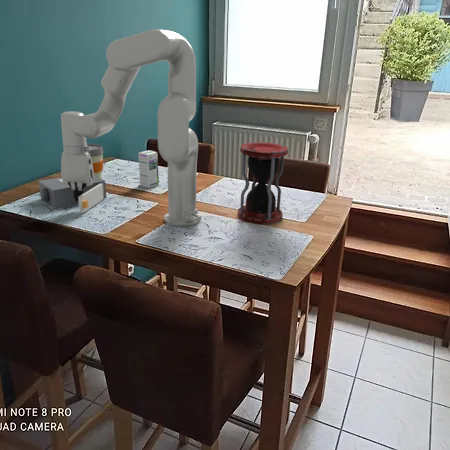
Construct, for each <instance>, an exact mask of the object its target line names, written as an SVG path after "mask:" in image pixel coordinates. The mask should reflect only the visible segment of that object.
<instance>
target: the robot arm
mask: <svg viewBox="0 0 450 450" xmlns="http://www.w3.org/2000/svg"><path fill="white" fill-rule="evenodd" d="M105 55H106V60H107V63H108V67H107V69H106V70H105V72H104V75H103V77H102V78H101V80H100V84H101V86H102V89H103V90H104V96H103V99H102V101H101V104H100V106H99V107H98V110H97V111H96V112H92V113H88V114H84V113H83V112H81V111H73V110H72V111H64V112H62V113H61V115H60V123H61V134H62V135H61V136H62V146H63V148H62V149H63V152H62V153H61V159H60V160H61V162H60V173H61V174H60V175H61V177H62V179H63V181H62V182H63V183H65V184H68V185H69V186H70V187H71V188H72V190H73V191H74V198H75V201H79V200H78V197H79V196H80V195H82V194H84V191H83V189H84V188H85V187H86V186H91V185H93V181H92V179H93V178H94V172H93V165H92V160H91V156H90V153H87V152H88V151H90V150H91V148H90V147H87V144H88V143H87V139H96V138H98V137H101V136H103V135H105V134H108V133H109V132H111V131H112V130H113V128H114V127H115V126H116V123H117V122H118V120H119V118H120V116H121V115H122V113H123V110H124V106H125V104H126V97H127V94H128V92H129V91H130V88H131V87H132V85H133V83H134V81H135V79H136V77H137V75H138V73H139V72H140V70H141V67H143V66H147V65H151V64H154V63H158V62H167V63H168V66H169V67H168V75H167V76H168V77H167V84H168V88H167V90H168V92H167V95H166V96H165V97H163V98H162V100H160V103H159V104H158V110H157V149H158V152H159V154H160V156H161V158H162V159H163V160H164V161H165V162H167V202H168V203H167V204H168V206H167V207H168V212H167V213H166V214H164V216H163V219H164V222H165V223H166V224H169V225H171V226H176V227H177V226H178V227H187V226H194V225H197V224H198V223H199V222H201V220H202V215H201V214H200V213H199V211H198V209H197V171H198V170H197V167H198V165H197V164H198V163H197V162H198V153H199V139H198V136H197V134H196V132H195V131H194V130H192V129H191V128H190V122H191V121H192V120H193V119H194V117H195V116H196V112H197V62H196V55H195V52H194V49H193V47H192V46H191V44H190V43H189V42H188V41H187V39H186V38H185V37H183V36H182V35H180V34H179V33H177V32H174V31H172V30H167V29H159V28H156V29H155V28H154V29H153V28H152V29H149V30H146V31H143V32H138V33H136V34H131V35H130V36H125V37H122V38H117V39H114V41H112V42H110V43H109V45H108V47H107V49H106V54H105ZM77 182H79V186H78V183H77Z"/></svg>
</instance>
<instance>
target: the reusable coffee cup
mask: <svg viewBox="0 0 450 450" xmlns="http://www.w3.org/2000/svg"><path fill="white" fill-rule="evenodd" d="M87 147H90V148H91V150H90V151H88V152H87V153H90V156H91V160H92V165H93V172H94V175H95V176H97V177H99V178H101V179H103V177H102V176H103V175H102V173H103V171H104V158H103V157H104V156H103V154H104V149H103V148H104V147H103V146H102V145H101V144H96V143H87Z"/></svg>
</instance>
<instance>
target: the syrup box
mask: <svg viewBox="0 0 450 450" xmlns="http://www.w3.org/2000/svg"><path fill="white" fill-rule="evenodd" d="M137 154H138V169H139V170H138V171H139V185H140V186H141V187H142V188H143V187H144V188H147V189H151V188H154V187H157V186H159V185H160V182H159V179H160V178H159V161H158V160H159V159H158V156H159V155H158V152H157V151H154V150H149V149H148V150H144V151H141V152H138V153H137Z"/></svg>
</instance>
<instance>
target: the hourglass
mask: <svg viewBox="0 0 450 450" xmlns="http://www.w3.org/2000/svg"><path fill="white" fill-rule="evenodd" d="M239 151H240V153H242V162H241V163H242V166H241V175H242V178H243V179H244V181H245V185H244V188H243V189H242V191H241V193H240V207H238V209H237V217H238V218H239V219H240V220H242V221H243V222H246V223H250V224H255V225H270V224H271V225H272V224H276V223H278V222H281V220H282V219H283V215H284V214H283V211H282V210H281V208H280V207H281V198H282V197H281V196H282V189H281V187H280V186H279V179H280V177H281V176H282V174H283V172H284V161H285V160H284V159H285V156H287V155H288V153H289V148H288V146H285V145H284V144H279V143H272V142H264V141H263V142H257V141H254V142H247V143H243V144H241V145H240V149H239ZM247 156H248V157H247ZM246 158H247V159H246ZM246 160H247V162H246ZM246 163H247V165H246ZM246 166H247V168H248V171H249V173H251V175H252V176H253V179H252V181H253V182H252V183H251V186H250V179H249V177H247V175H246ZM278 170H279V171H278ZM277 171H278V173H276V172H277ZM275 174H276V175H275ZM274 175H275V177H274ZM267 181H268V182H267ZM257 182H258V183H257ZM266 182H267V183H266ZM273 182H274V187H276V190H277V197H276V196H275V193H274V192H273V190H272V184H273ZM249 187H251V188H250V189H251V190H249ZM248 190H249V191H248ZM247 191H248V193H247V194H246V192H247ZM245 194H246V198H245ZM276 198H277V199H276ZM244 201H245V202H244ZM244 204H245V205H244Z"/></svg>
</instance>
